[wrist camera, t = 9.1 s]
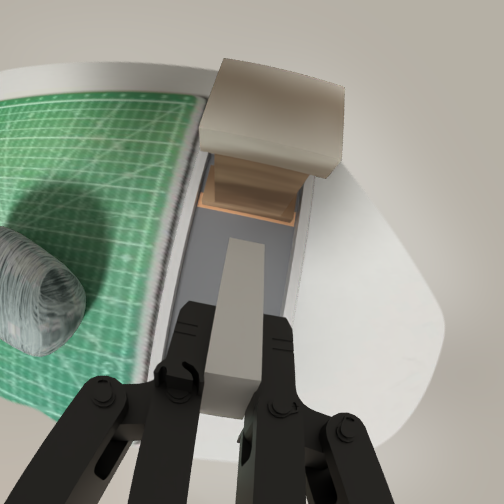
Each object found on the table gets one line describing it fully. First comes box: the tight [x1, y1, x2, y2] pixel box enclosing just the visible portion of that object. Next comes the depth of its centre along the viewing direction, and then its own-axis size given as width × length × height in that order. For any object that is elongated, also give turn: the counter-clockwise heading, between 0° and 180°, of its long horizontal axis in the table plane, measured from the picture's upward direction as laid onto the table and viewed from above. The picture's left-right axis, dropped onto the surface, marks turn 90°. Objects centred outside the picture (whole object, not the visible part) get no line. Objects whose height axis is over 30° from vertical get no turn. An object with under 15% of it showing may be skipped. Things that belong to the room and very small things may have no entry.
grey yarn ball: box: [0, 226, 86, 357], centre depth 19 cm, size 14×10×10 cm
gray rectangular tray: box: [147, 147, 315, 382], centre depth 23 cm, size 20×10×4 cm, turn 169°
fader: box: [199, 58, 345, 223], centre depth 18 cm, size 4×7×12 cm, turn 79°
